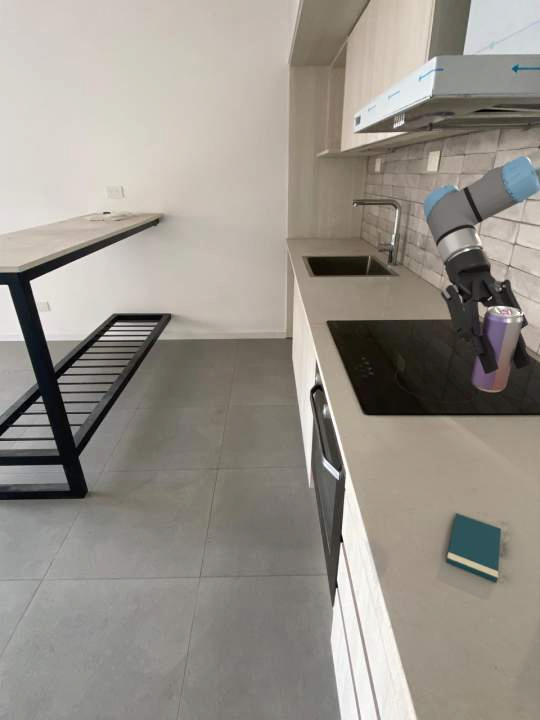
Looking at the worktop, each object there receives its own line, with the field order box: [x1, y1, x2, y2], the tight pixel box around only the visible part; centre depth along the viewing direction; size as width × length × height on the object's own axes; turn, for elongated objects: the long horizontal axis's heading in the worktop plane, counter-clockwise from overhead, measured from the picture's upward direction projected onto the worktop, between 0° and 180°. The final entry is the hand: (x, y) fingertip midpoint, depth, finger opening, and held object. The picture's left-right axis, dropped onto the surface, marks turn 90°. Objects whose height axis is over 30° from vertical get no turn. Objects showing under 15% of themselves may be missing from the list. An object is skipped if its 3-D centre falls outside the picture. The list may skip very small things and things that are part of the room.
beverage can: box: [470, 306, 524, 393], centre depth 72 cm, size 6×6×15 cm
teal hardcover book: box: [445, 512, 502, 584], centre depth 55 cm, size 9×6×1 cm, turn 150°
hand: (508, 368), depth 70 cm, fingers closed on beverage can, 6 cm apart
